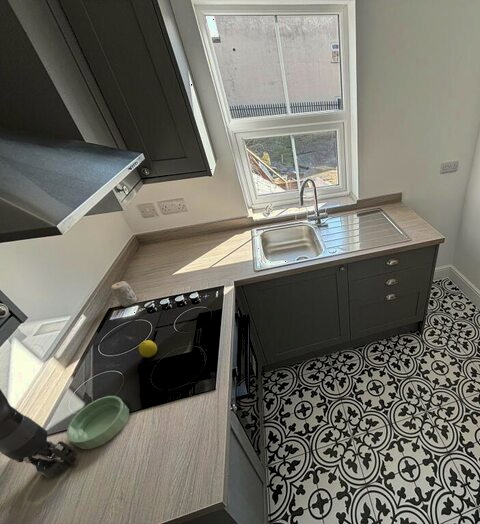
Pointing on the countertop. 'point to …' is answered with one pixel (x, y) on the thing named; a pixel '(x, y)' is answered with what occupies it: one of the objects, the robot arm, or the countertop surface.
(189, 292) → the countertop surface
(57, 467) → the small bowl
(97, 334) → the countertop surface
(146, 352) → the lemon
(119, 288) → the carving
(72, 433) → the big bowl
